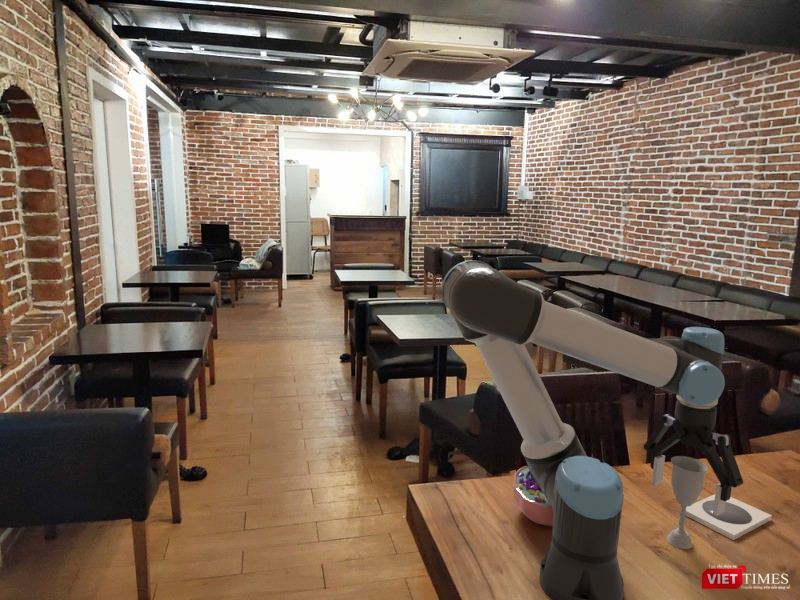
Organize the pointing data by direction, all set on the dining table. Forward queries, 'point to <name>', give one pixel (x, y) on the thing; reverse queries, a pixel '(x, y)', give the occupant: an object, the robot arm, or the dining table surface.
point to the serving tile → (728, 517)
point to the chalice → (685, 494)
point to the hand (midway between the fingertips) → (686, 498)
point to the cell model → (531, 498)
